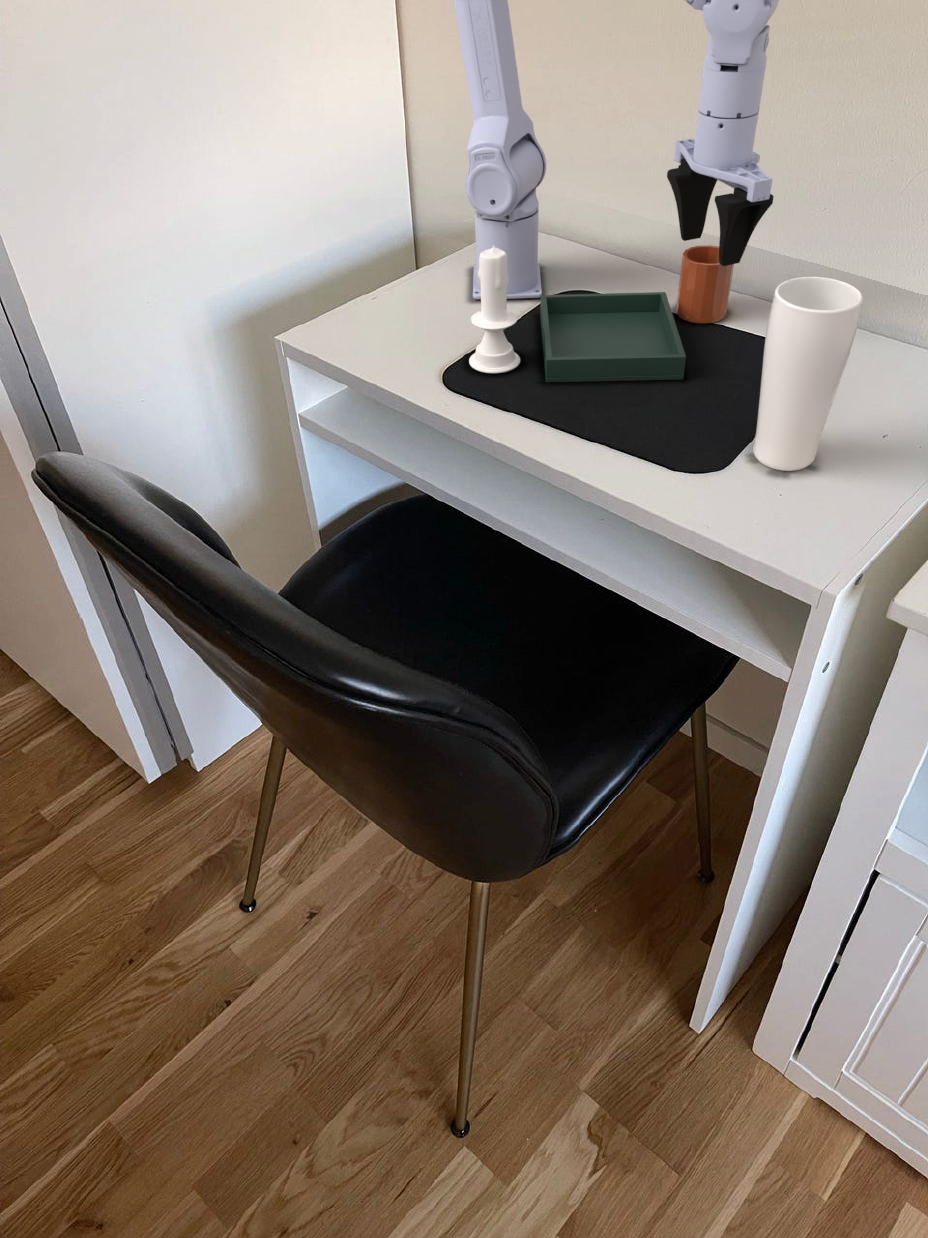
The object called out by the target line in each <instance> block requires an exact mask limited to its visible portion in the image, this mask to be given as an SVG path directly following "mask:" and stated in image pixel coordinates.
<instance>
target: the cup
mask: <svg viewBox="0 0 928 1238" xmlns="http://www.w3.org/2000/svg"><path fill="white" fill-rule="evenodd" d="M734 267H735V264H732V265H727V266H722V265H721V264H720V262H719V245H711V244H710V245H708V244H706V245H704V244H702V245H695V246H690V247H689V248H687V249H685V250H683V253H682V256H681V264H680V273H679V282H678V289H677V298H676V310H675V312H676V315H677V316H678V317H679V318H680V319H682V320H683V321H685V322H689V323H693V324H713V323H717V322H719V321H722V320H723V319H724V318H725V317H726V315H727V311H728V307H729V299H730V291H731V286H732V280H733V272H734Z"/></svg>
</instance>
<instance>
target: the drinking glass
mask: <svg viewBox="0 0 928 1238" xmlns="http://www.w3.org/2000/svg"><path fill="white" fill-rule="evenodd" d="M863 301H864V297H863V293H862V292H861V291H860V290H859V289H858V288H856V287H855V286H853V285H852V284H850V283H848V282H845V281H842V280H838V279H835V278H830V277H823V276H800V277H794V278H791V279H787V280H785V281H783V282H781V283H779V285H777V286H776V288H775V290H774V293H773V298H772V302H771V306H770V309H769V310H770V311H769V315H768V319H767V324H766V332H765V340H764V346H763V355H762V365H761V366H762V367H761V379H760V387H759V401H758V408H757V420H756V430H755V435H754V440H753V446H752V447H753V448H752V451H753V455H754V457H755V459H757V460H758V462H759V463H761V464H762V465H764V466H766V467H767V468H770V469H773V470H777V471H784V472H792V471H799V470H803V469H805V468H807V467H809V466H810V465H811V464H812V463H813V462H814V461H815V459H816V456H817V453H818V449H819V444H820V441H821V438H822V435H823V432H824V429H825V426H826V423H827V420H828V418H829V414H830V411H831V408H832V406H833V403H834V400H835V397H836V394H837V391H838V389H839V386H840V383H841V381H842V377H843V374H844V371H845V369H846V366H847V363H848V360H849V358H850V354H851V351H852V348H853V345H854V341H855V338H856V333H857V330H858V325H859V321H860V316H861V310H862V305H863Z"/></svg>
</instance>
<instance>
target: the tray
mask: <svg viewBox="0 0 928 1238" xmlns="http://www.w3.org/2000/svg"><path fill="white" fill-rule="evenodd" d="M539 314H540V316H539V317H540V327H541V339H542V341H541V342H542V351H543V363H544V376H545V383H582V382H583V383H584V382H586V383H588V382H590V383H591V382H632V381H675V380H676V381H680V380H684V377H685V376H684V375H685V369H686V361H687V355H686V351H685V349H684V347H683V346H684V345H683V343H682V339H681V336H680V334H679V330H678V327H677V324H676V320H675V318H674V314H673V311H672V308H671V305H670V302H669V298H668V295H667V293H666V291H650V292H648V291H647V292H615V293H613V292H610V293H574V294H570V293H568V294H567V293H566V294H542V295H541V297H540V312H539Z"/></svg>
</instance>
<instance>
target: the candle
mask: <svg viewBox="0 0 928 1238" xmlns="http://www.w3.org/2000/svg"><path fill="white" fill-rule="evenodd" d="M478 277H479V279H480V281H481V299H480V308H481V310H479V311H476V312H475V313H474V314H472V315H471V317H470V322H471V323H472V325H473V326H475V327H476V328H479V329H481V330H483V331H485V332H484V335H483V337H482V339H481V342H479V343H478V344H477V345H476V348H475V352H474V353H472V354H471V355H470V357H469V359H468V363H469V366H470V367H471V368H472V369H474V370H476V371H478V372H480V373H485V374H503V373H508V372H510V371H513V370H515V369H516V368H517V367H518V366H519V365H520V364H521V357H520V355H519V354H518V353H517V352H515V351H514V350H515V349H514V346H513V345H512V343H510V342H509V341H508V339H507V337H506V335H505V332H504V330H505V329H508V328H509V327H512V326H513V325H515V324H516V323H517V321H518V316H517V314H516V313H515V312H513V311H512V310H509V309H507V306H508V305H507V303H508V302H507V300H508V299H507V285H508V282H509V278H508V272H507V254H506V252H504V251H502V250H500V249H498V248H495V247H494V245H493V248H491V249H488V250H485V251H483V252H481V253H480V258H479V272H478Z"/></svg>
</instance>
